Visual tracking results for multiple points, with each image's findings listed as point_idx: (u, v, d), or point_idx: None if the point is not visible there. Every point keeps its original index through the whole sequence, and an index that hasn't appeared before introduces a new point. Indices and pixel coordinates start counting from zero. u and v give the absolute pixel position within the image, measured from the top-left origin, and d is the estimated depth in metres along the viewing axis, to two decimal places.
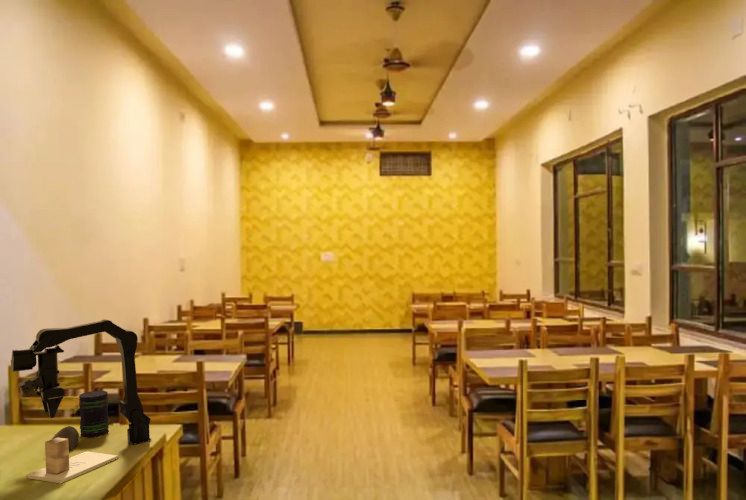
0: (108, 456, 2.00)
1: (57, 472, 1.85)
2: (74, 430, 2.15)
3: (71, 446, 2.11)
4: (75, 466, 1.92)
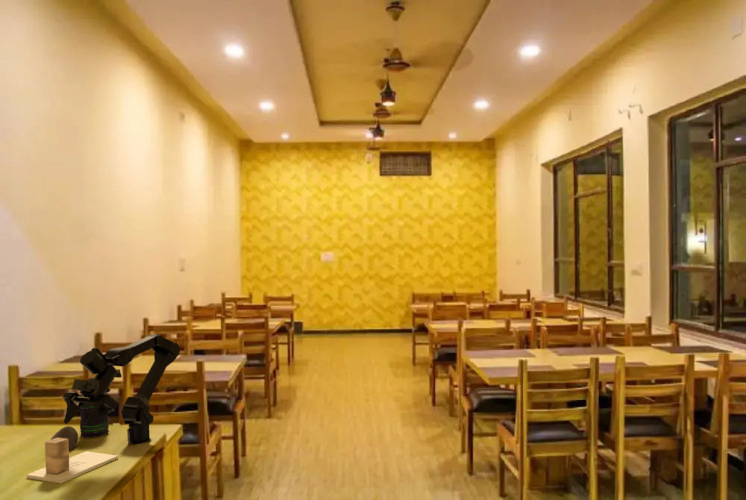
0: (108, 456, 2.00)
1: (57, 472, 1.85)
2: (73, 430, 2.15)
3: (70, 446, 2.11)
4: (75, 466, 1.92)
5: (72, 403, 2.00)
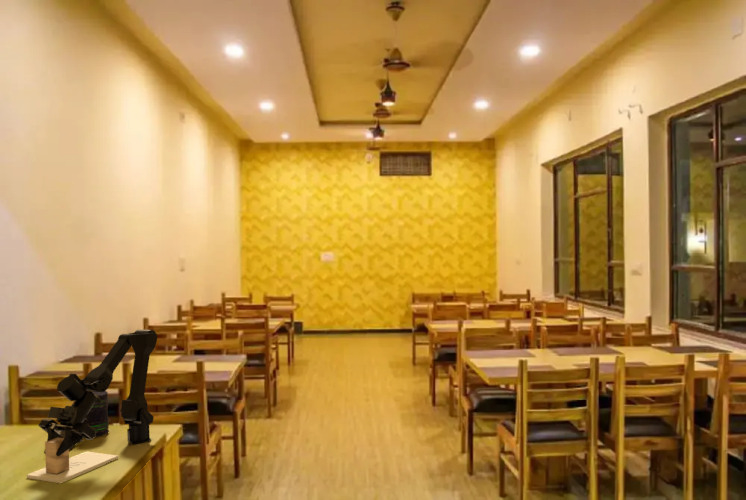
0: (108, 456, 2.00)
1: (57, 472, 1.85)
2: None
3: None
4: (75, 466, 1.92)
5: (53, 432, 1.90)
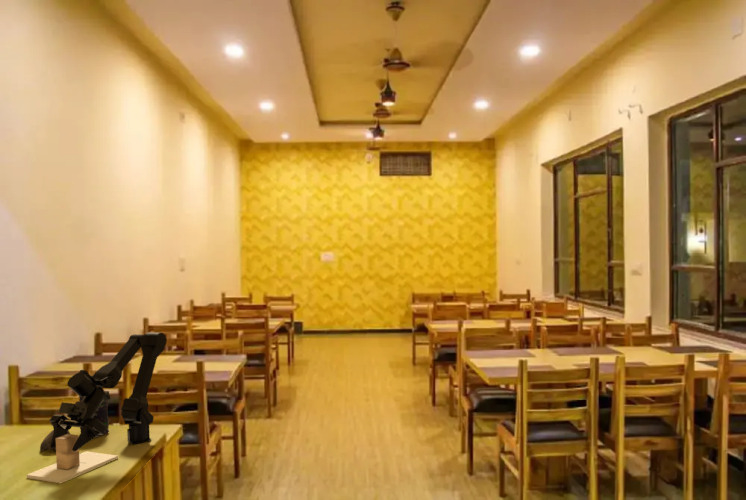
0: (108, 456, 2.00)
1: (68, 468, 1.89)
2: None
3: None
4: None
5: (59, 427, 1.95)
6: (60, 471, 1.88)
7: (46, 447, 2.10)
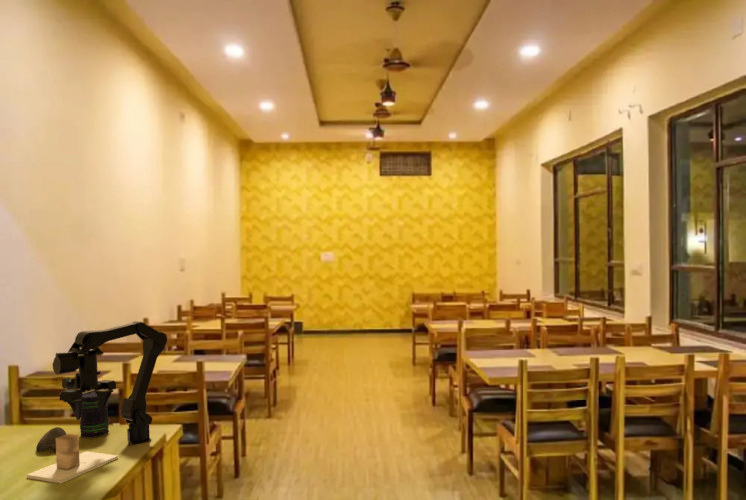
0: (108, 456, 2.00)
1: (68, 468, 1.89)
2: (62, 431, 2.14)
3: None
4: None
5: (98, 393, 2.11)
6: (60, 471, 1.88)
7: (42, 447, 2.10)
